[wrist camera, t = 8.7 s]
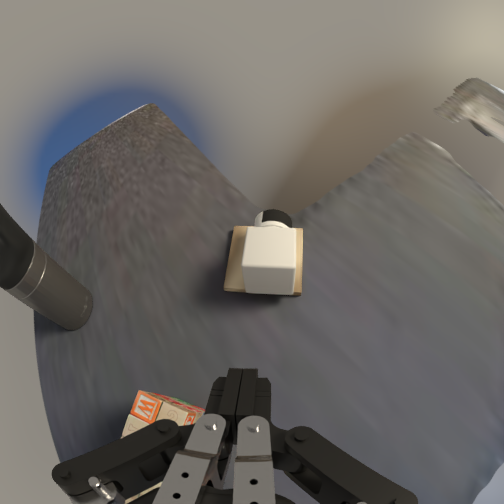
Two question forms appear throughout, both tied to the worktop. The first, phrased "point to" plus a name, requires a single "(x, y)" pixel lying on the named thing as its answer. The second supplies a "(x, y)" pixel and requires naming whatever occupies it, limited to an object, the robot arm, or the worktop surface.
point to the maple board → (234, 269)
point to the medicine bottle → (270, 254)
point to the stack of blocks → (158, 416)
